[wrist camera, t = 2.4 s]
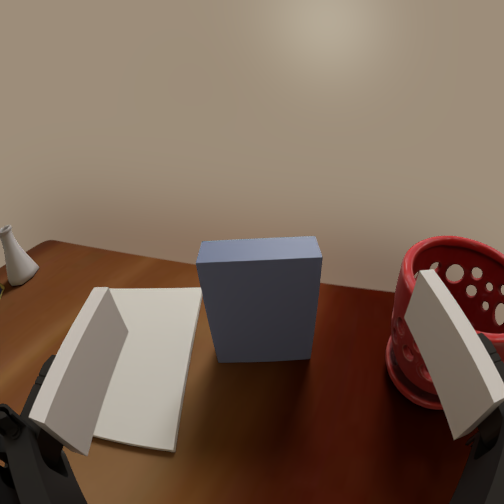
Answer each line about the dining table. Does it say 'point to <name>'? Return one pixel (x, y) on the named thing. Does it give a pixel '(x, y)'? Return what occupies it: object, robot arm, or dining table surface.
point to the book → (261, 297)
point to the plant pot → (483, 321)
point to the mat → (150, 367)
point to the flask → (16, 259)
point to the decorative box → (1, 289)
